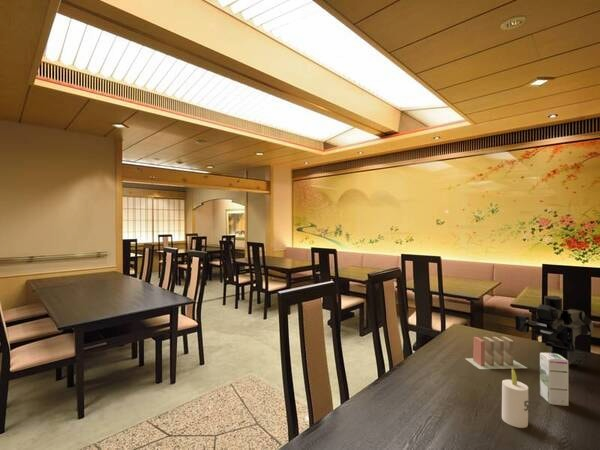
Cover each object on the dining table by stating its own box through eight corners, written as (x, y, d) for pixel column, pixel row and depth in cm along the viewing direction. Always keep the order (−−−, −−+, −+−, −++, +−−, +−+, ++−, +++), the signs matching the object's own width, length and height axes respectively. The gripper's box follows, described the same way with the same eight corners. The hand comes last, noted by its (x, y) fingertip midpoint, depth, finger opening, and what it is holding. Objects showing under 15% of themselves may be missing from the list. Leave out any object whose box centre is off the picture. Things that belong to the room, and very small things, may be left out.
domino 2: (486, 360, 134) (486, 336, 134) (494, 365, 129) (494, 341, 129) (482, 360, 134) (482, 336, 134) (490, 365, 129) (490, 341, 129)
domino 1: (476, 360, 133) (477, 336, 133) (484, 366, 128) (484, 341, 128) (473, 360, 133) (473, 336, 133) (480, 366, 128) (481, 341, 128)
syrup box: (569, 406, 101) (570, 360, 101) (548, 404, 102) (548, 358, 102) (558, 396, 106) (559, 353, 106) (538, 394, 107) (539, 351, 107)
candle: (519, 430, 88) (520, 376, 88) (496, 417, 94) (497, 366, 94) (533, 425, 91) (534, 372, 91) (510, 412, 97) (511, 363, 97)
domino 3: (495, 360, 134) (495, 336, 134) (503, 365, 129) (503, 340, 129) (491, 360, 134) (491, 336, 134) (499, 365, 129) (500, 340, 129)
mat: (509, 358, 137) (509, 357, 137) (527, 368, 127) (527, 368, 127) (464, 359, 136) (464, 358, 136) (479, 369, 126) (479, 369, 126)
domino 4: (504, 360, 134) (504, 336, 134) (513, 365, 129) (513, 340, 129) (500, 360, 134) (501, 336, 134) (509, 365, 129) (509, 340, 129)
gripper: (523, 299, 135) (506, 307, 127) (580, 309, 120) (564, 319, 111) (524, 325, 136) (507, 334, 127) (580, 338, 120) (565, 350, 112)
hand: (534, 334), depth 120 cm, fingers open, 9 cm apart
